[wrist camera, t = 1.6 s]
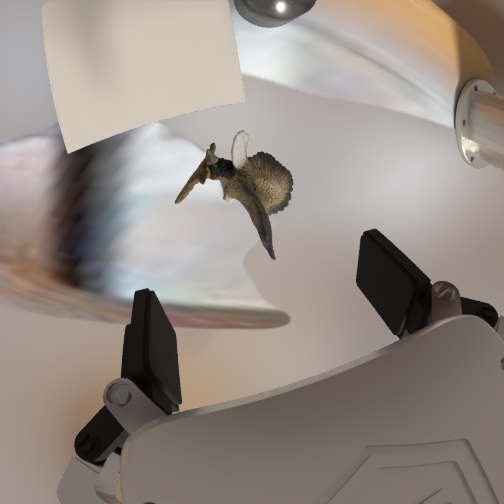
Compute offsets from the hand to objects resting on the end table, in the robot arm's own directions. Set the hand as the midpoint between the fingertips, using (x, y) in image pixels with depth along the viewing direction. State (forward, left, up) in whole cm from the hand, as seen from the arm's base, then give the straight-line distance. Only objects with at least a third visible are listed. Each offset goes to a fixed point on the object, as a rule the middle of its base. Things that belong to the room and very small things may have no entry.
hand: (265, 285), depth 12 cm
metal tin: (-6, -15, -13) cm, 21 cm away
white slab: (+4, -13, -13) cm, 19 cm away
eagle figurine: (-1, 0, -14) cm, 14 cm away
